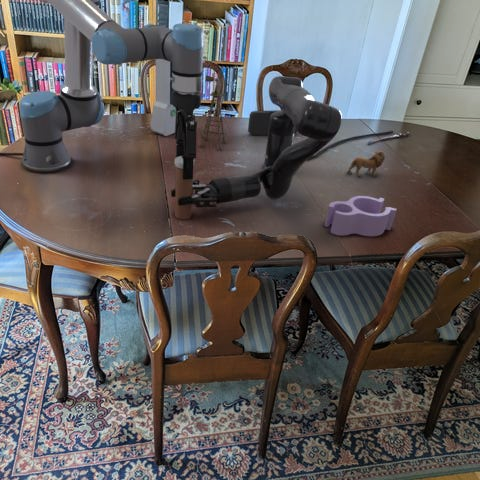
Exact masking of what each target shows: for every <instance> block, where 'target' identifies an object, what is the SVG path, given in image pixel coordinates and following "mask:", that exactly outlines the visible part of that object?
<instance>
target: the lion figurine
mask: <svg viewBox="0 0 480 480" xmlns="http://www.w3.org/2000/svg"><path fill="white" fill-rule="evenodd" d="M385 154H386V153H385V152H384V151H383V150H377V151H375V153H374V155H372V156H371V157H370V158H364V157H361V156H360V157H355V158H354V160H353V161H352V162H351V164H350V166H349V167H348V170H347V173H346V175H349V174H352V171H351V170H352V169H354V168H355V174H356V176H357V177H359V178H360V177H362V176H361V174H360V173H359V172H360V171H361V169H362V168H364V169H367V172H366V173H367V174H371V177H376V174H375V173H376V171H377V169H378V168H380V167H381V166H382V165H383V163H384V161H385V159H386V155H385Z"/></svg>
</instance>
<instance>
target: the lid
mask: <svg viewBox="0 0 480 480" xmlns="http://www.w3.org/2000/svg"><path fill="white" fill-rule="evenodd" d="M174 166H175V168H176V167H178V168H181V169H183V159H182V156H179V157H176V156H175V158H174ZM194 167H195V160H194V161H193V168H194Z"/></svg>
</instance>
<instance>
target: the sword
mask: <svg viewBox="0 0 480 480" xmlns="http://www.w3.org/2000/svg"><path fill="white" fill-rule="evenodd" d="M401 134H402V133H396V134H392V135H389V136H383V137H379V138H376V139H372V140H370V141H368V143H367V144H368V145H372V144H373V143H377V142H381V141H384V140H389V139H393V138H400V137H402V136H406V135H409V134H404V135H401Z"/></svg>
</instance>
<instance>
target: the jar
mask: <svg viewBox="0 0 480 480" xmlns="http://www.w3.org/2000/svg"><path fill="white" fill-rule="evenodd" d="M193 179H194V178H193ZM193 179H187V180H183V169H181V168H178V167H176V166H175V183H174V184H175V187H174V189H175V197H174V217H175V218H176V219H179V220H188V219H190V218H191V217H192V206H193V205H191V204H188V205H181V206H179V205H178V198H181V197H188V196H190V197H191V196H192V182H193V181H194V180H193Z"/></svg>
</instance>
